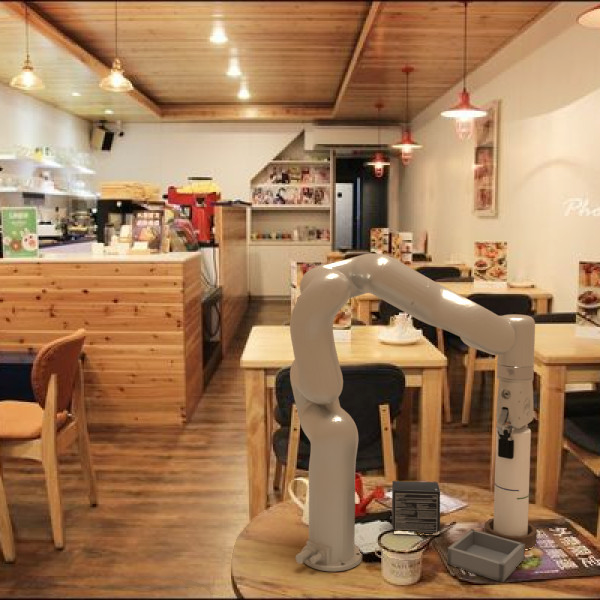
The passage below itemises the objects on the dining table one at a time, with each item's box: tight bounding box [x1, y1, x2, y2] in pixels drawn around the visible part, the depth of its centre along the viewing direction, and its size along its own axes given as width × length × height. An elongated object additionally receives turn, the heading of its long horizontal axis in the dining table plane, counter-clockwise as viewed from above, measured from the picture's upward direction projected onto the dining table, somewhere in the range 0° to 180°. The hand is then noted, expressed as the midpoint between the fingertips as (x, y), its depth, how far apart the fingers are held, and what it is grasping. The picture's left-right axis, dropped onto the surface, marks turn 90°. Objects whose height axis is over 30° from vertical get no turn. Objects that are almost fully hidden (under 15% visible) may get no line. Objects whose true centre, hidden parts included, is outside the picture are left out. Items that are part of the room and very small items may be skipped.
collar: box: [484, 517, 538, 549], centre depth 149 cm, size 11×11×3 cm
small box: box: [391, 480, 441, 534], centre depth 154 cm, size 11×6×10 cm, turn 84°
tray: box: [446, 528, 526, 583], centre depth 139 cm, size 12×12×4 cm
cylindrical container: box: [493, 426, 532, 536], centre depth 148 cm, size 7×7×25 cm
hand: (512, 452), depth 147 cm, fingers closed on cylindrical container, 7 cm apart
